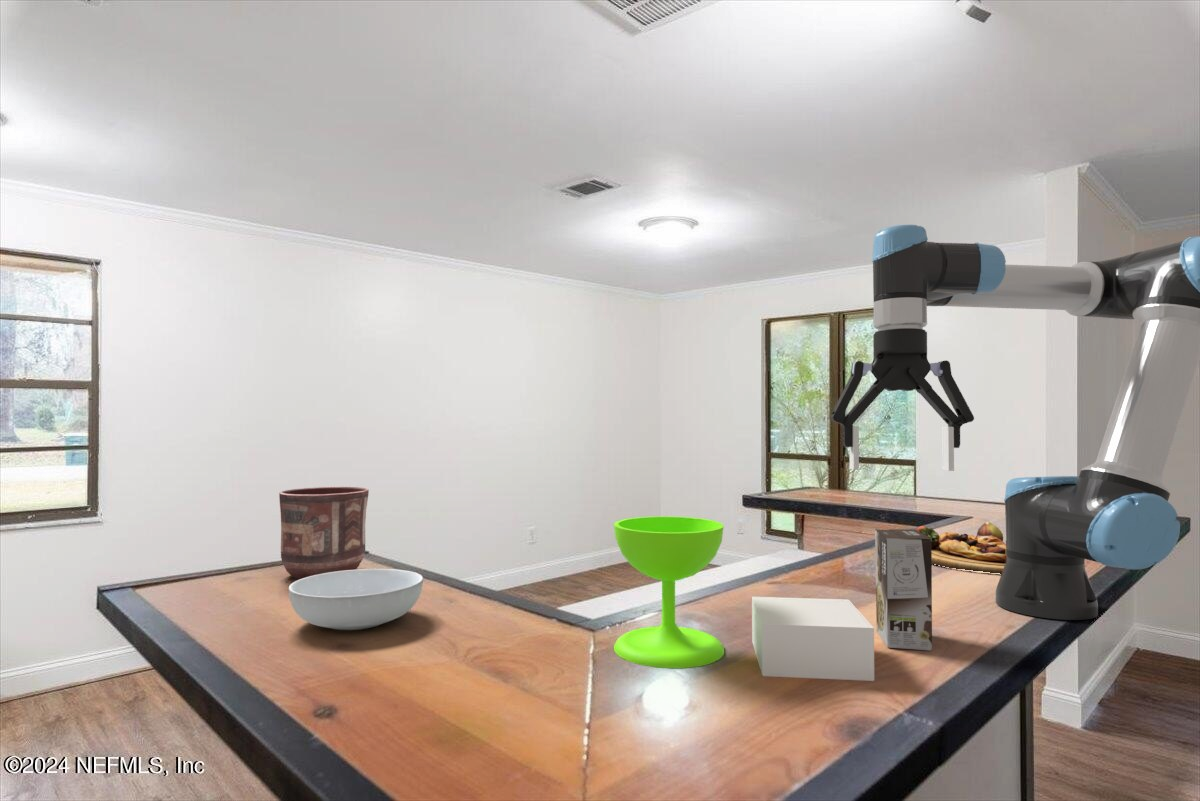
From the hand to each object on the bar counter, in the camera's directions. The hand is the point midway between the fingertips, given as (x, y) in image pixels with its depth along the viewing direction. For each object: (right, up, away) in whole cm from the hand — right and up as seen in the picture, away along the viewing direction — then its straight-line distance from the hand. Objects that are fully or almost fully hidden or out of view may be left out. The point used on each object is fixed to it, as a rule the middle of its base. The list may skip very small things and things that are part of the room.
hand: (900, 469), depth 106 cm
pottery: (-104, -27, +43) cm, 116 cm away
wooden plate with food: (+44, -28, +57) cm, 78 cm away
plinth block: (-17, -26, -9) cm, 32 cm away
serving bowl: (-85, -26, +9) cm, 90 cm away
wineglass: (-36, -26, -4) cm, 44 cm away
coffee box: (0, -26, -1) cm, 26 cm away
